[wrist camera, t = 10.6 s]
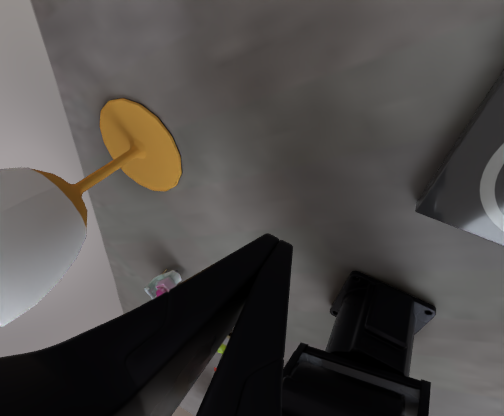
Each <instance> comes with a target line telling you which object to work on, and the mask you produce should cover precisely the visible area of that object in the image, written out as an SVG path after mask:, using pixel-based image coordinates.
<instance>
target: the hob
mask: <svg viewBox="0 0 504 416" xmlns="http://www.w3.org/2000/svg"><path fill="white" fill-rule="evenodd" d="M415 211H416V212H418V213H420V214H423V215H425V216H428V217H431V218H433V219H436V220H438V221H441V222H444V223H446V224H449V225H451V226H454V227H456V228H459V229H462V230H464V231H467V232H469V233H472V234H474V235H477V236H480V237H482V238H485V239H487V240H490V241H493V242H495V243H498V244H500V245H503V246H504V70H503V71H502V73H501V74H500V76H499V77H498V79H497V80H496V82H495V83H494V85H493V86H492V88H491V89H490V91H489V92H488V94H487V95H486V97H485V99H484V100H483V102H482V103H481V105H480V106H479V108H478V109H477V111H476V112H475V114H474V115H473V117H472V118H471V120H470V121H469V123H468V125H467V126H466V128H465V129H464V131H463V132H462V134H461V135H460V137H459V138H458V140H457V141H456V143H455V144H454V146H453V147H452V149H451V150H450V152H449V154H448V155H447V157H446V158H445V160H444V161H443V163H442V164H441V166H440V167H439V169H438V170H437V172H436V173H435V175H434V176H433V178H432V179H431V181H430V183H429V184H428V186H427V187H426V189H425V190H424V192H423V193H422V195H421V196H420V198H419V199H418V201H417V204H416V209H415Z"/></svg>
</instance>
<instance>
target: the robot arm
mask: <svg viewBox="0 0 504 416" xmlns="http://www.w3.org/2000/svg"><path fill="white" fill-rule="evenodd" d="M292 253H293V246H292V245H291V244H289V243H287V242H285V241H283V240H280V241H279V239H278V238H277V237H275V236H273V235H271V234H264V235H263V236H261V237H259V238H257V239H256V240H254V241H252V242H251V243H249V244H247V245H245V246H244V247H242V248H240V249H239V250H237V251H235V252H233V253H232V254H230V255H228V256H227V257H225V258H223V259H221V260H220V261H218V262H216V263H215V264H213V265H211V266H209V267H208V268H206V269H204V270H202V271H201V272H199V273H197V274H196V275H194V276H192V277H190V278H189V279H187V280H185V281H184V282H182V283H180V284H178V285H177V286H175V287H173V288H172V289H170V290H169V293H168V292H167V291H166V292H164V293H163V294H161V295H159V296H158V297H156V298H154V299H152V300H151V301H149V302H147V303H145V304H143V305H141V306H140V307H138V308H136V309H134V310H132V311H130V312H127V313H125V314H123V315H121V316H119V317H117V318H115V319H113V320H110V321H108V322H106V323H104V324H102V325H100V326H97V327H95V328H93V329H90V330H88V331H86V332H84V333H82V334H79V335H77V336H75V337H73V338H71V339H69V340H66V341H64V342H61V343H59V344H57V345H54V346H51V347H48V348H45V349H42V350H38V351H34V352H29V353H24V354H18V355H13V356H6V357H1V358H0V416H172V414H173V413H174V411H175V410H176V408H177V407H178V406H179V404H180V403H181V401H182V400H183V399H184V397H185V396H186V394H187V393H188V391H189V390H190V389H191V387H192V386H193V384H194V383H195V381H196V380H197V379H198V377H199V376H200V374H201V373H202V372H203V370H204V369H205V367H206V366H207V364H208V363H209V362H210V360H211V359H212V357H213V356H214V354H215V353H216V352H217V350H218V349H219V347H220V346H221V344H222V343H223V342H224V340H225V339H226V337H227V336H228V335H229V333H230V332H231V330H232V329H233V327H234V326H235V327H234V329H233V332H232V334H231V336H230V339H229V341H228V343H227V346H226V348H225V350H224V352H223V355H222V357H221V359H220V362H219V364H218V366H217V369H216V371H215V373H214V375H213V378H212V380H211V382H210V385H209V387H208V389H207V392H206V394H205V396H204V398H203V401H202V403H201V405H200V408H199V410H198V412H197V415H196V416H428V414H429V400H430V386H431V382H428V381H425V380H422V379H421V381H420V380H417V379H413V378H410V377H409V372H410V364H411V356H412V348H413V340H414V335H415V334H416V333H417V332H418V331H419V330H420V329H421V328H422V327H423V326H424V325H426V324H427V323H428V322H429V321H430V320H431V319H432V318H433V317H434V316H435V315H436V308H435V307H434V306H433V305H431V304H429V303H426V302H424V301H422V300H420V299H418V298H416V297H413V296H411V295H409V294H407V293H405V292H402V291H400V290H398V289H396V288H394V287H391V286H389V285H387V284H385V283H383V282H380V281H378V280H376V279H374V278H372V277H370V276H367V275H365V274H363V273H361V272H358V271H352V272H351V274H350V275H349V277H348V279H347V280H346V282H345V284H344V286H343V287H342V289H341V291H340V293H339V294H338V296H337V298H336V299H335V301H334V303H333V305H332V306H331V309H330V313H331V314H332V315H333V316H335V317H336V320H335V323H334V326H333V329H332V332H331V335H330V338H329V341H328V344H327V347H326V350H325V351H323V350H320V349H317V348H313V347H310V346H308V344H305V343H300V344H299V346H298V348H297V349H296V351H294V353H293V354H292V356H291V358H290V359H289V361H288V362H287V364H286V366H285V367H284V369H283V366H284V360H283V358H284V352H285V339H286V327H287V315H288V302H289V290H290V278H291V265H292ZM428 310H429V311H428Z"/></svg>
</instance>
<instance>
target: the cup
mask: <svg viewBox="0 0 504 416" xmlns="http://www.w3.org/2000/svg"><path fill="white" fill-rule="evenodd" d="M100 130H101V133H102V137H103V141H104V144H105V145H106V147H107V149H108V151H109V153H110V154H111V156H112V158H113V160H112V161H111V162H109V163H108V164H106V165H104V166H103V167H101V168H100V169H98V170H97V171H95V172H93V173H92V174H90V175H89V176H87V177H86V178H84V179H83V180H81V181H79V182H78V183H76V184H69V183H67V182H66V181H65V180H63V179H62V178H60V177H58V176H56V175H54V174H51V173H47V172H43V171H39V170H35V169H30V168H9V169H0V327H4V326H5V325H7V324H8V323H10V322H11V321H13V320H14V319H16V318H17V317H19V316H20V315H22V314H23V313H25V312H26V311H28V310H29V309H31V308H32V307H34V306H35V305H36V304H37V303H38V302H39V301H40V300H41V299H42V298H43V297H44V296H45V295H46V294H47V293H48V292H49V291H50V290H51V289H52V288H53V287H54V286H55V285H56V284H57V283H58V282H59V281H60V280H61V279H62V277H63V276H64V275H65V273H66V272H67V270H68V269H69V268H70V266H71V265H72V264H73V262H74V261H75V259H76V258H77V256H78V254H79V252H80V249H81V247H82V245H83V243H84V241H85V239H86V232H87V229H86V227H87V209H86V207H85V204H84V202H83V200H82V194H83V192H85V191H86V190H88V189H89V188H91V187H92V186H94V185H95V184H97V183H98V182H100V181H101V180H103V179H104V178H106V177H107V176H109V175H110V174H112V173H113V172H115V171H116V170H118V169H119V168H121V169H122V170H123V171H124V173H125V174H127V175H128V176H129V177H130V178H132V179H133V180H134V181H135V182H137V183H138V184H140V185H142V186H144V187H146V188H149V189H151V190H153V191H167V190H169V189H171V188H173V187H174V186H176V185H177V183H178V181H179V179H180V176H181V174H182V169H181V157H180V154H179V152H178V149H177V147H176V144H175V142H174V140H173V137H172V136H171V134H170V133H169V132H168V130H167V129H166V128H165V126H164V125H163V124H162V122H161V121H160V120H159V118H157V117H156V116H155V115H154V114H152V113H151V112H150V111H149V110H147V109H146V108H145V107H143V106H142V105H141V104H139V103H136V102H133V101H130V100H127V99H125V98H121V99H115V100H110V101H108V102H107V104H106V105H105V106H104V107H103V109H102V110H101V115H100Z"/></svg>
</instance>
